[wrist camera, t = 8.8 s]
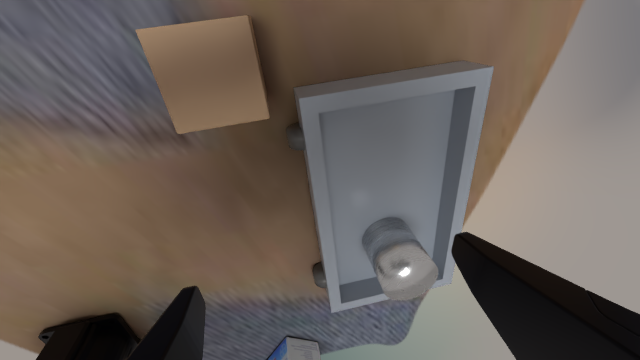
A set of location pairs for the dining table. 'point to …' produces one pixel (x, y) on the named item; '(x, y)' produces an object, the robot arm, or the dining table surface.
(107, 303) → the dining table surface
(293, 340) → the medicine box
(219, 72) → the walnut block
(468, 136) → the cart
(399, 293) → the cylinder
